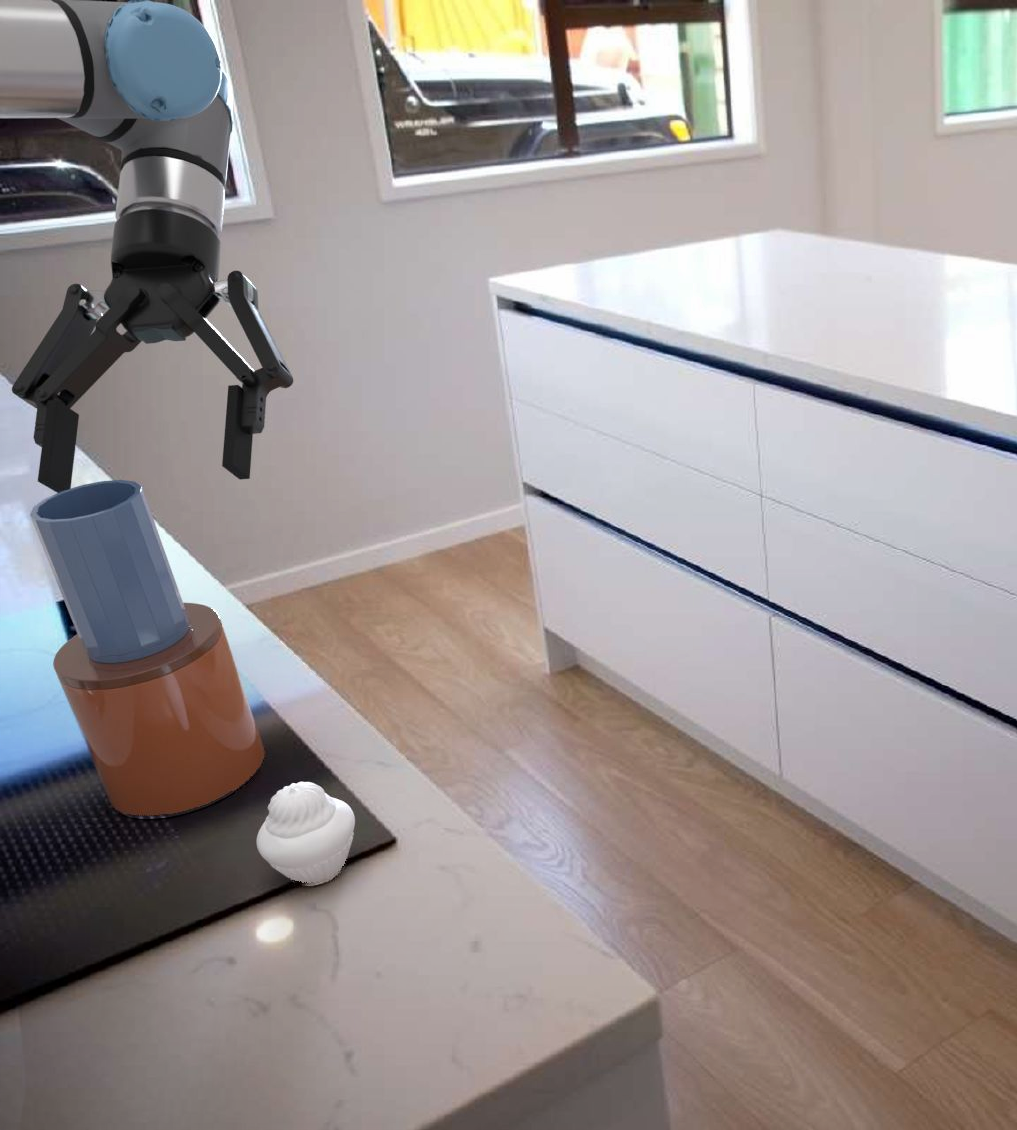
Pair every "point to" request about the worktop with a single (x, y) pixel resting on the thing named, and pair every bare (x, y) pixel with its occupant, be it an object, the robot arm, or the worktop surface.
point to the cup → (111, 570)
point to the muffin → (306, 833)
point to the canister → (165, 720)
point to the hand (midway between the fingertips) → (144, 480)
